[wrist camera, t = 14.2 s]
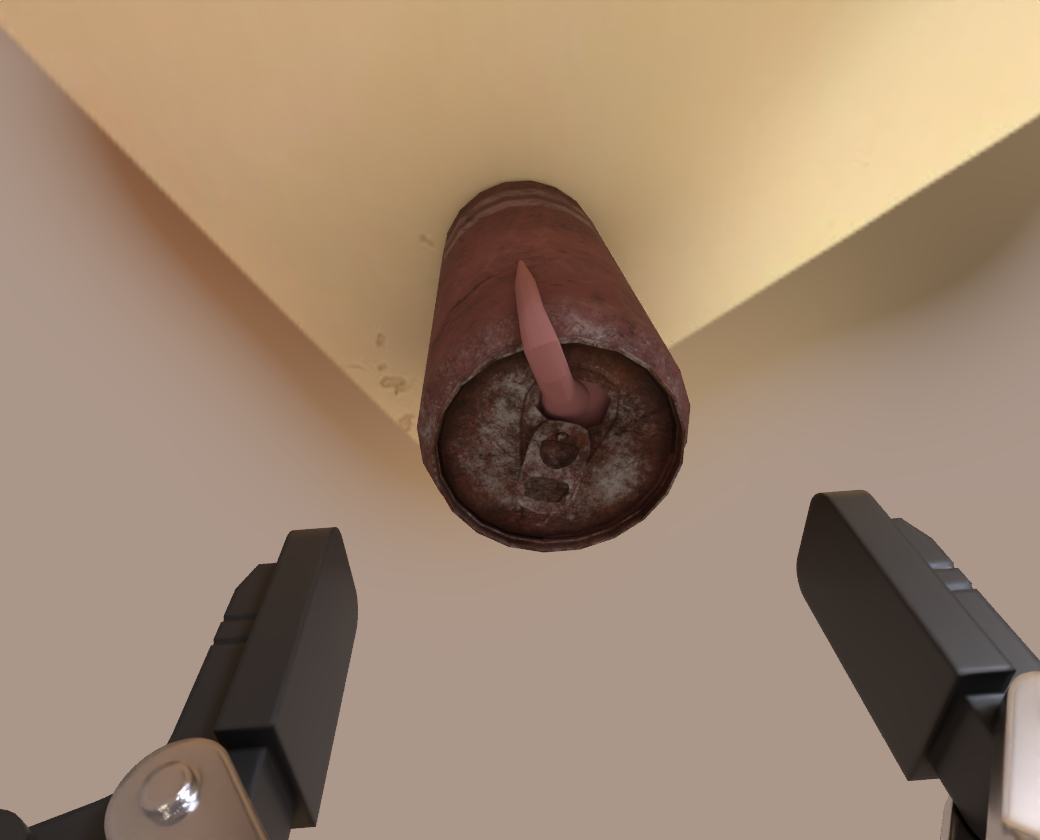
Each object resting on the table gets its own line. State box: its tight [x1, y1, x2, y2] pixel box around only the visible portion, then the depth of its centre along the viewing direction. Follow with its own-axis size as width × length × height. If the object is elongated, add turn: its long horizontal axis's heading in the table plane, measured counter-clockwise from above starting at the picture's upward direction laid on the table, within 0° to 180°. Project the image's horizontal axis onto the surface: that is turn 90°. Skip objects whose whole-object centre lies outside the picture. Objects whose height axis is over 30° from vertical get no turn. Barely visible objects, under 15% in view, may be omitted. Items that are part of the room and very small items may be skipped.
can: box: [417, 181, 690, 552], centre depth 19 cm, size 6×6×14 cm
